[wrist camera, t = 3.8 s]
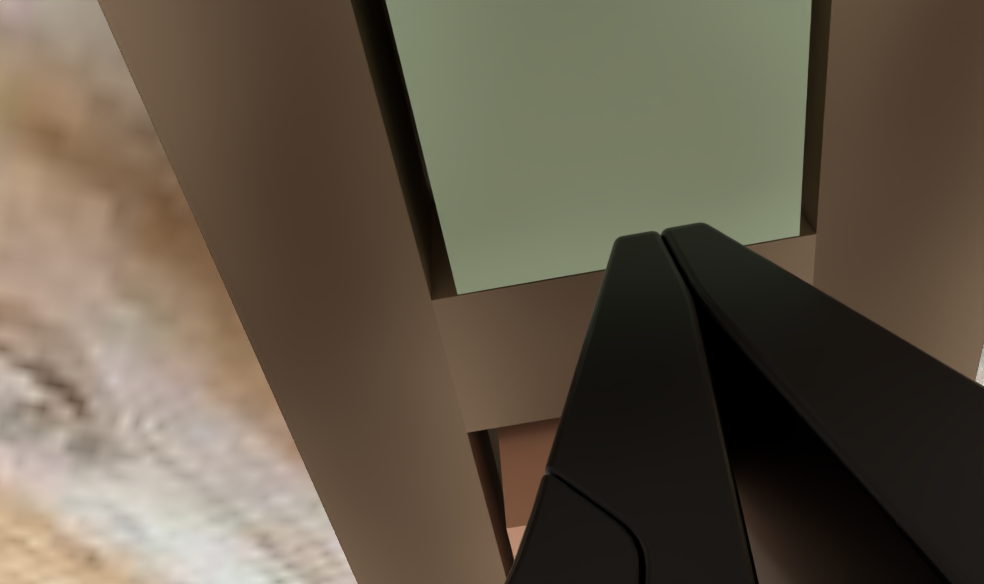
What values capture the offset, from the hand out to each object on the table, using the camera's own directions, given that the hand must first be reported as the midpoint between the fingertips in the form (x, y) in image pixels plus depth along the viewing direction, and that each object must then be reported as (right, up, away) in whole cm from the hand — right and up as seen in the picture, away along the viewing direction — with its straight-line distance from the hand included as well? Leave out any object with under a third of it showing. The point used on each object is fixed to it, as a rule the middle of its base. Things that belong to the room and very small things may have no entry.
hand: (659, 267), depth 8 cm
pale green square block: (0, +4, +5) cm, 7 cm away
